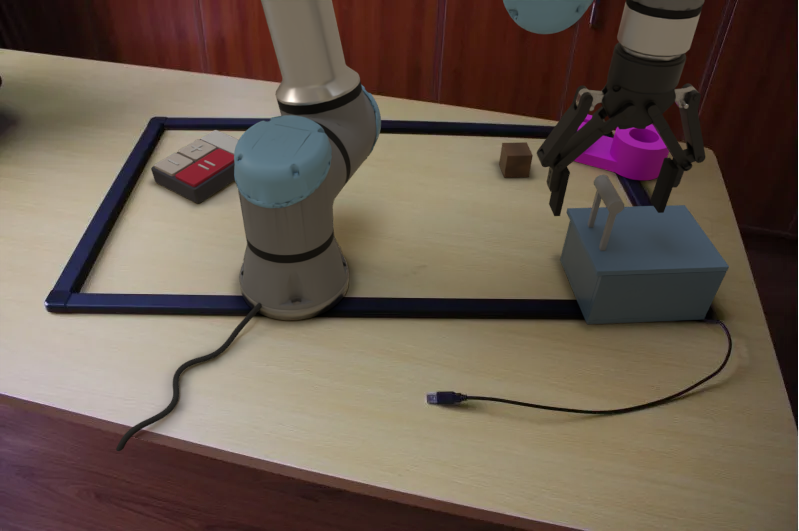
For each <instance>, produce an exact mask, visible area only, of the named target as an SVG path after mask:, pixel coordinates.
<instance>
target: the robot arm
mask: <svg viewBox="0 0 799 531" xmlns="http://www.w3.org/2000/svg"><path fill="white" fill-rule="evenodd" d="M502 1H503V5H504V8H505V9H506V11H507V13H508V15H509V17H510V18H511V19H512V20H513V21H514V23H515V24H516V25H517V26H519V27H520V28H521V29H523V30H525V31H528V32H530V33H533V34H538V35H552V34H556V33H559V32H562V31H565V30H567V29H568V28H570V27H571V26H573V25H574V24H576V22H578V21H579V20H580V19H581V18H582V17H583V15H584V14H585V13H586V12H587V10H588V9H589V7H590V6H591V5H592V4H593V2H594V0H502ZM260 3H261V7H262V10H263V13H264V17H265V20H266V25H267V27H268V31H269V36H270V38H271V42H272V45H273V49H274V53H275V56H276V61H277V64H278V67H279V70H280V74H281V78H282V80H281V81H280V83H279V85H278V87H277V88H276V90H275V98H276V101H277V105H278V110H279V113H280V115H278V116H277V115H276V116H273V117H270V119H269V121H268V120H267V121H266V120H260V121H258V122H256V123H255V124H253V125H251V126H249V128H248V129H246V130H245V131H244V132H243V133H242V135H241V136H240V137H239V138H238V139H239V140H238V142H237V144H236V147H235V151H234V163H235V166H234V168H235V169H234V177H235V180H234V182H235V185H236V188H237V192H238V198H239V203H240V211H241V216H242V222H243V228H244V234H245V240H246V247H245V251H244V254H243V260H242V264H241V267H240V271H239V276H238V280H239V286H240V292H241V297H242V299H243V300H244V301H245V303H246V305H247V306H248V307H250V309H251V310H250V311H249V313H247V314H246V315H245V317H244V318H243V319H242V320H241V321H240V322H239V324H238V325H237V326H236V327H235V328H234V330H233V331H232V332H231V333H230V335H229V337H228V338H227V339H226V340H225V342H224V343H223V344H222V345H220V347H218V348H217V349H215V350H214V351H213V352H210V353H208V354H205V355H201V356H198V357H194V358H192V359H189V360H188V361H187V360H186V362H184V363H182V364H181V365H179V367H178V368H177V369H176V370H175V372H174V374H173V377H172V399H171V401H170V402H169V403H168V405H167V406H166V407H165V408H164V409H162V410H161V411H160V412H158V413H157V414H155V415H153V416H151V417H149V418H147V419H144V420H142V421H141V422H138V423H137V424H135V425H133V426H132V427H131V428H130V429H128V430H127V431H126V433H124V435H123V436H122V437H121V439H120V440H119V442H118V444H117V446H116V448H115V449H116V452H120V451H121V452H122V451H123V450H124V448H125V446H126V445H127V443H128V441H130V439H131V438H132V437H133V436H134V435H135V434H136V433H137V432H139V431H141V430H143V429H145V428H147V427H148V426H151V425H152V424H155V423H157V422H159V421H161V420H162V419H164V418H165V417H167V416H168V415H169V414H171V413H172V412H173V410H174V409H175V408H176V406H177V405H178V402H179V400H180V378H181V375H182V374H183V373H184V372H185V371H186V370H187V369H189V368H190V367H192V366H194V365H195V366H196V365H197V364H201V363H205V362H208V361H211V360H213V359H215V358H217V357H219V356H220V355H222V354H223V353H224V352H225V351H227V349H228V348H229V347H230V346H231V344H233V342H234V341H235V339H236V338H237V337H238V335H239V334H240V333H241V331H242V330H243V329H244V328H245V327H246V325H247V324H248V323H249V322H250V321H251V320H252V319H253V318H254V317H255V316H256V314H257V313H258V314H260V315H262V316H264V317H267V318H270V319H275V320H281V321H301V320H306V319H311V318H313V317H317V316H319V315H322V314H325V313H327V312H328V311H330V310H332V309H333V308H334V307H336V305H338V304H339V303H340V302H341V301H342V299H343V298H344V297H345V296H346V294H347V292H348V289H349V285H350V270H349V265H348V262H347V259H346V258H345V255H343V252H342V246H340V245H339V243H338V241H337V239H336V237H335V230H334V226H335V225H334V203H335V199H336V198H337V197H338V195H339V194H340V192H341V191H342V190H343V189H344V187H345V186H346V185H347V183H348V182H349V181H350V180H351V178H352V177H353V176H354V175H355V173H356V172H357V171H358V170H359V168H360V167H361V166H362V165H363V163H364V162H365V161H366V160H367V159H368V158H369V156H370V155H371V154H372V152H373V151H374V149H375V148H374V147H375V146H376V144H377V141H378V139H379V138H380V133H381V127H382V116H381V111H380V107H379V104H378V103H377V100H376V99H375V97H374V95H373V94H372V93H371V92H368V91H367V90H366V87H365V86H364V85H363V84H362V81H361V77H360V74H359V73H358V72H357V71H356V70H354V69H352V68H350V67H349V66H348V65H347V64H346V60H345V55H344V51H343V50H344V49H343V46H342V42H341V35H340V33H339V28H338V23H337V18H336V13H335V9H334V4H333V0H260ZM704 4H705V0H625V3H624V7H623V11H622V15H621V19H620V23H619V27H618V32H617V35H616V39H617V41H618V42H617V43H616V44H615V45H614V46H613V51H612V56H611V60H610V64H609V68H608V72H607V77H606V78H607V79H606V83H605V84H604V87H603V88H602V89H601V90H592V89H588V88H587V87H586V85H579V86H578V87H577V88H576V90H575V93H574V95H573V99H572V102H571V103H570V105H569V107H568V108H567V109H566V111H565V112H564V114H562V116H561V118H560V119H559V120H558V122H557V123H556V124H555V126H554V127H553V128H552V130H551V131H550V133H549V134H548V135H547V137H546V138H545V140H544V141H543V142H542V144H540V146H539V148H538V149H537V150H536V156H537V158H538V160H539V162H540V165H541V166H542V167H543V168H548V173H547V177H546V185H547V188H548V190H549V192H550V196H549V201H548V206H549V208H550V210H551V212H552V214H553V217H561V215H562V209H563V205H564V201H565V197H566V192H567V188H568V187H567V186H568V184H569V180H570V175H571V172H570V170H569V167H568V166H570V165H571V164H572V163H573V162H575V161H574V160H575V159H576V158H578V157H579V156H580V155H581V154H582V153H583V152H584V151H586V150H587V149H588V148H589V147H590V146H591V145H593V144H594V143H595V142H596V141H597V140H598V139H599V138H601V137H602V136H605V135H609V134H611V132H613V131H614V130H616V128H617V127H618V128H619V129H629V128H637V129H645V128H646V127H647V126H649V125H651V124H652V125H653V126H654V127H655V129H656V131H657V132H658V134H659V136H660V137H661V139H662V141H663V142H664V144H665V145H666V147H667V149H668V150H669V154H670V156H671V157H667V158H664V161H663V164H662V167H661V170H660V173H659V176H658V177H657V178H656V182H655V185H654V187H653V190H652V193H651V197H650V199H649V202H650V203H651V205H652V206H654V207H655V209H656V210H657V212H658V213H664V210H665V208H666V206H668V202H669V199H670V196H671V194H672V191H673V188H678V186H679V185H680V184H681V181H682V177H683V175H684V172H688V171H690V170H691V169H692V168H693V164H692V163H695V162H696V163H697V164H698V163H699V164H701V163H703V162H704V161H705V160H706V158H707V157H706V150H705V146H704V139H703V134H702V128H701V123H700V117H699V116H700V115H699V106H700V102H701V98H702V95H701V93H700V92H699V91H698V90H697V89H696V88H695V87H694V86H693V85H692V84H691V83H684V85H682V86H681V88H677V86H678V85H679V82H680V79H681V76H682V73H683V70H684V67H685V64H686V62H687V56H686V53H687V52H688V51H689V50H690V49H691V47H692V42H693V39H694V35H695V34H696V29H697V26H698V23H699V21H700V20H699V19H700V16H701V13H702V10H703V6H704ZM674 103H675V104H676V106H677V107H678V109H679V115H680V120H681V126H682V131H683V135H684V141H685V146H686V148H685V149H684V148H683V147H682V146H681V145H680V143H679V141H678V139H677V137H676V136H675V134H674V132H673V131H672V129H671V127H670V125H669V123H668V121H667V120H666V118H665V116H664V115H663V114H664V113H665V112H666V111H667V110H668V109H669V108H670V107H672V106H673V105H674ZM598 104H600V105H601V106H600V107H599V108H598V109H597V110H595V107H596V105H598ZM594 110H595V112H594V113H592V114H591V115H592V118H591V119H590V120H589V121H588V122H587V123H586V124H585V125H584V126H583V127H581V128H580V129H579V130H578V128H579V126H580V125H581V124H582V122H583V121H584V120H585V118H586V117H587V115H589V113H590V112H593V111H594ZM606 118H608V119H607V120H606ZM577 130H578V131H577Z"/></svg>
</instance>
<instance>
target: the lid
mask: <svg viewBox="0 0 799 531" xmlns="http://www.w3.org/2000/svg"><path fill="white" fill-rule="evenodd" d="M593 186H594V188H595V189H596V191H595V195H594V199H593V202H592V205H591V207H569V208H568V207H567V208H566V215H567V217H568V219H569V222H570V221H571V224H572V226H573V228H574V230H575V232H576V234H577V236H578V238H579V240H580V243H581V245H582V247H583V249H584V251H585V253H586V255H587V257H588V260H589V262H590V264H591V266H592V268H593V270H594V272H595V274H596V276H606V275H634V274H662V273H690V272H718V271H726V272H728V270H729V268H730V266H729V264H728V262H726V259H725V258H723V256H722V254H721V253H720V252H719V251H718V249H717V248H716V246H715V245H714V243H713V242H712V241H711V239H710V238H709V237H708V235H707V233H706V232H705V231H704V230H703V228H702V226H701V225H700V223H699V222H698V221H697V220H696V219H695V217H694V216H693V214H692V213H691V211H690V210H689V208H688V207H687V205H685V204H677V205H676V204H675V205H666V208H665V210H664V213H658V212H657V210H656V209H655V207H654V206H653V205H639V206H638V205H637V206H636V205H635V206H633V205H632V206H625V202H624V201H623V199H622V198H621V196H620V194H619V193H618V191H617V189H616V188H615V186H614V184H613V183H612V181H611V179H610V178H609V176H608V175H606V174H600V175H597V176H596V177H595V178H594V179H593ZM602 202H603V203H604V205H605V206H603V207H602V206H600V205H601V203H602Z"/></svg>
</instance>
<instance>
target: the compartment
mask: <svg viewBox="0 0 799 531" xmlns="http://www.w3.org/2000/svg"><path fill="white" fill-rule="evenodd" d="M565 234H566V235H565V237H564V242H563V246H562V250H561V254H560V258H559V261H560V264H561V266H562V268H563V271H564V273H565V275H566V278H567V280H568V282H569V285H570V287H571V290H572V292H573V294H574V297H575V299H576V302H577V305H578V307H579V309H580V311H581V314H582V316H583V318H584V321H585V323H586V325H602V324H605V325H606V324H627V323H650V322H651V323H652V322H654V323H655V322H675V321H701V320H702V321H703V320H705V319H706V316H707V313H708V311H709V310H710V307H711V305H712V304H713V301H714V299H715V297H716V296H717V293H718V291H719V289H720V287H721V285H722V283H723V281H724V278H725V277H726V274H727V271H718V272H690V273H662V274H634V275H606V276H596V274H595V272H594V270H593V268H592V266H591V264H590V262H589V260H588V257H587V255H586V253H585V251H584V249H583V247H582V245H581V243H580V240H579V238H578V236H577V234H576V232H575V230H574V228H573V226H572V224H571V221H570V220H569V222H568V226H567V230H566V233H565Z"/></svg>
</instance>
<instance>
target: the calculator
mask: <svg viewBox="0 0 799 531" xmlns="http://www.w3.org/2000/svg"><path fill="white" fill-rule="evenodd" d="M239 139H240V138H237V137H234V136H231V135H229V134H227V133H225V132H222V131H221V130H217V129H214V130H212V131H209V133H207V134H206V135H204V136H202V137H201V138H197V139H195V140H194V141H192V142H190V143H188V144H186V145H185V146H183V147H181V148H180V149H178V150H177V152H173V153H171V154H169V155H168V156H166V157H164V158H163V159H161V160H159V161H157V162H156V163H154V164H153V166H152V167H150V170H151V173H152V176H153V179H154V182H155V184H157V185H160V186H162V187H163V188H166V189H167V190H170V191H171V192H173V193H175V194H177V195H179V196H181V197H183V198H185V199H187V200H188V201H191V202H193V203H195V204H197V205H198V204H201V203H202V202H204V201H205V200H207V199H208V198H210V197H212V196H213V195H214V194H216V193H218V192H219V191H221V190H222V189H223V188H225V187H226V186H228V185H230V184H231V183H232V182H235V177H234V169H235V168H234V166H235V163H234V151H235V147H236V144H237V142H238V140H239Z"/></svg>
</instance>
